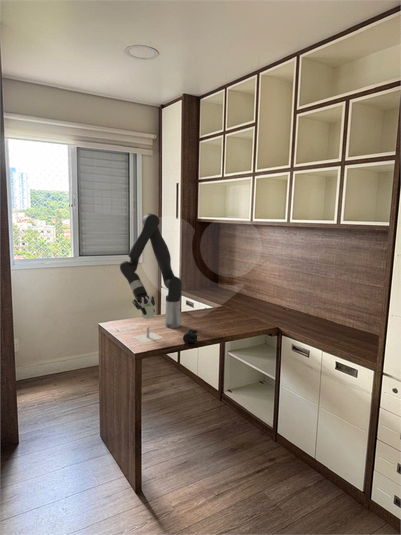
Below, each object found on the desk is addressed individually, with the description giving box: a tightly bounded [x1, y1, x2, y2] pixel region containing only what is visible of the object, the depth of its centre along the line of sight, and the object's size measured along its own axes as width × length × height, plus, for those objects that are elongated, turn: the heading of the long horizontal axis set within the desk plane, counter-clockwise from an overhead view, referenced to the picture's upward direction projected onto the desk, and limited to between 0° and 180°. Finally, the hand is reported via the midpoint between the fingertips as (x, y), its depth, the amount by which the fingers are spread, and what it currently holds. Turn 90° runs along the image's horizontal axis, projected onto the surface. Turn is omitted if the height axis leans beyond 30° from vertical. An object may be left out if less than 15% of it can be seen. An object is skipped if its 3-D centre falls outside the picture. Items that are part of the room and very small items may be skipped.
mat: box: [116, 325, 139, 332], centre depth 225 cm, size 14×14×1 cm
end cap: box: [182, 328, 198, 346], centre depth 208 cm, size 10×7×7 cm
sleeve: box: [141, 304, 155, 320], centre depth 208 cm, size 5×5×7 cm
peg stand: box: [132, 326, 164, 344], centre depth 210 cm, size 14×12×8 cm
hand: (149, 313), depth 207 cm, fingers closed on sleeve, 4 cm apart
